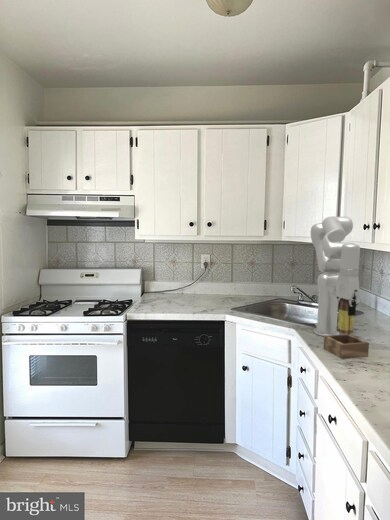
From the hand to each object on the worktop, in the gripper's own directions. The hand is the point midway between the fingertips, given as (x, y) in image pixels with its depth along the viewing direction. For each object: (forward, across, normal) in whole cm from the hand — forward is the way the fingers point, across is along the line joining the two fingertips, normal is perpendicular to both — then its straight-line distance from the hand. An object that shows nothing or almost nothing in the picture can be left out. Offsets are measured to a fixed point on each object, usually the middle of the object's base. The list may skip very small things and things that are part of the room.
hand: (346, 313), depth 161 cm
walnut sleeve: (+18, +1, 0) cm, 18 cm away
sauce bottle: (+9, 0, 0) cm, 9 cm away
